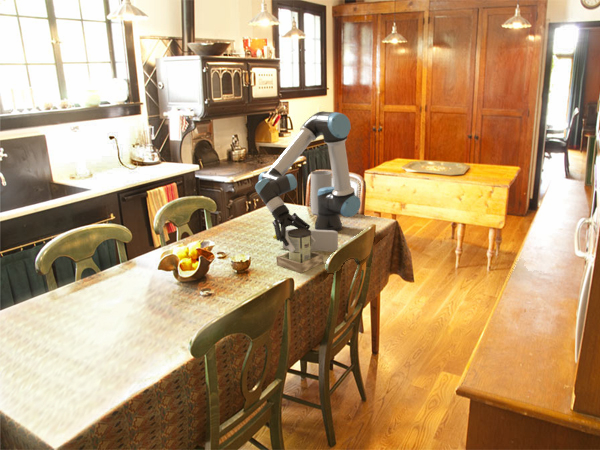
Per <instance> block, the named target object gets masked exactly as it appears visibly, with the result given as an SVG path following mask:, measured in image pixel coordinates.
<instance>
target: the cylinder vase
mask: <svg viewBox="0 0 600 450" xmlns="http://www.w3.org/2000/svg"><path fill="white" fill-rule="evenodd" d="M332 182H333V176H332V171H330V170H314V171H311V172H310V205H311V208H310V209H311V211H310V212H311V214H313V215H315V216H318V196H317V195H318V190H319V189H320V188H324V187H333V185H332Z"/></svg>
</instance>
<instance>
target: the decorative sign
mask: <svg viewBox="0 0 600 450" xmlns="http://www.w3.org/2000/svg"><path fill="white" fill-rule="evenodd" d="M292 229H293V228H289V227H288V228H287V227H286V237H285V238H287V237H288V231H290V230H292ZM309 230H310V231H311V234H312V237H313V238H314V240H315V242H314V243H313V244H312V245H311V251H312V252H315V251H316V252H334V251H335V250H337V251H338V248H339V231H333V230H316V229H311V228H309ZM272 239H275V240H277V238H276V234H274V235H273V236H272ZM282 248H283V249H285V250H289V249H288V248H287V246H285V244H284V243H283V242H282ZM335 252H336V251H335Z"/></svg>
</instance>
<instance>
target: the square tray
mask: <svg viewBox="0 0 600 450" xmlns="http://www.w3.org/2000/svg"><path fill="white" fill-rule="evenodd" d="M275 257H276V258H275V259H276V266H280V267H283V268H285V269H288V270H291V271H294V272H297V273H300V272H301V274H303V273H305V272H306V271H309V270H311V269H313V268H316V267H317V266H321V265H322V264H323V263H324V254H322V253H319V252H317V251H316V252H315V251H313V250H311V259H310V260H307V261H305V262H303V263H299V262H296V261H292V260H289V251H287V252H284V253H283V254H282V253H281V254H280V255H276V256H275ZM304 271H305V272H304ZM302 272H303V273H302Z"/></svg>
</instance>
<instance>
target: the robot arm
mask: <svg viewBox="0 0 600 450" xmlns="http://www.w3.org/2000/svg"><path fill="white" fill-rule="evenodd" d="M351 129H352V127H351V121H350V119H349V117H348V116H347V115H346V114H344V113H341V112H338V111H334V112H333V111H325V110H323V111H322V110H321V111H318V112H316V113H314V114H313V115H311V116H310V117H309V118H307V120H306V121H305V122H304V123H303V124H301V126H300V127H299V130H300V131H299V132H298V134H296V135H295V137H294V138H293V140H292V141H291V142H289V144H288V146H286V148H285V149H284V150H283V152H282V153H281V154H280V155H279V156H278V158H277V159H275V161H274V163H273V164H272V165H271V166H270V168H269V169H268V170H266V171H262V172H261V173H260V174H259V175H258V182H257V183H255V186H254V189H255V191H256V193H257V194H258V196H259V197H260V199H261V201H262V202H263V203H264V204H265V206H266V208H267V209H268V211H269V212H270V213H271V215H272V217H273V218H274V220H273V221H272V222H271V223H272V225H273V227H274V232H275V235H276V238H277V239H276V241H279V242H280V243H281V242H282V244H283V243H284V244H285V246H287V248H288V249H287V250H288V252H289V251H290V252H291V253H292V252H293V251H294V250H295V248H294V247H293V245H292V243H291V242H290V240H289V239H288V237H287V238H285V237H286V229H287V227H290V226H291V227H294V228H295V229H298V228H303V229H308V230H309V229H311V225H310V224H308V223H307V222H306V221H304V220H303V218H301V217H300V216H298V215H297V213H296V212H294V213H293V214H291V213H290V209H289V208H288V207H287V205H286V204H285V202H284V200H283V199H282V198H281V197H280V196H281V195H283V194H286V193H288V192H291V191H293V190H295V189H297V188H298V187H297V186H298V181H297V179H296V177H295V175H294V174H292V173H288V174H286V173H287V172H288V170H289V169H290V168H291V167H292V166H293V165H294V163H295V162H297V160H298V159H299V157H300V156H301V155H302V154H303V152H304V151H305V150H306V149H307V148H308V146H309V145H310V144H311V143H312V142H314V141H316V140H317V139H318V138H319V137H320V136H322V137H323V142H324V143H325V145H327V150H328V155H329V162H330V168H331V172H332V182H333V186H332V187H324V188H320V189H319V190H318V195H317V196H318V215H316V216H317V217H316V220H315V223H314V230H333V231H337V232H340V231H341V230H342V229H343V223H342V220H341V217H340V216H342V217H347V218H352V217H354V216H356V215H357V213H358V212H359V211H360V209H361V199H360V197H359V196H357V195H356V193H355V188H354V187H353V186H352V185H351V179H350V178H351V177H350V171H349V169H350V168H349V165H348V163H349V161H348V155H347V149H346V141H347V140H348V135H349V133H350V131H351ZM314 242H315V240H314V238H313V237H312V234H311V245H312V244H313V243H314Z"/></svg>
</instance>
